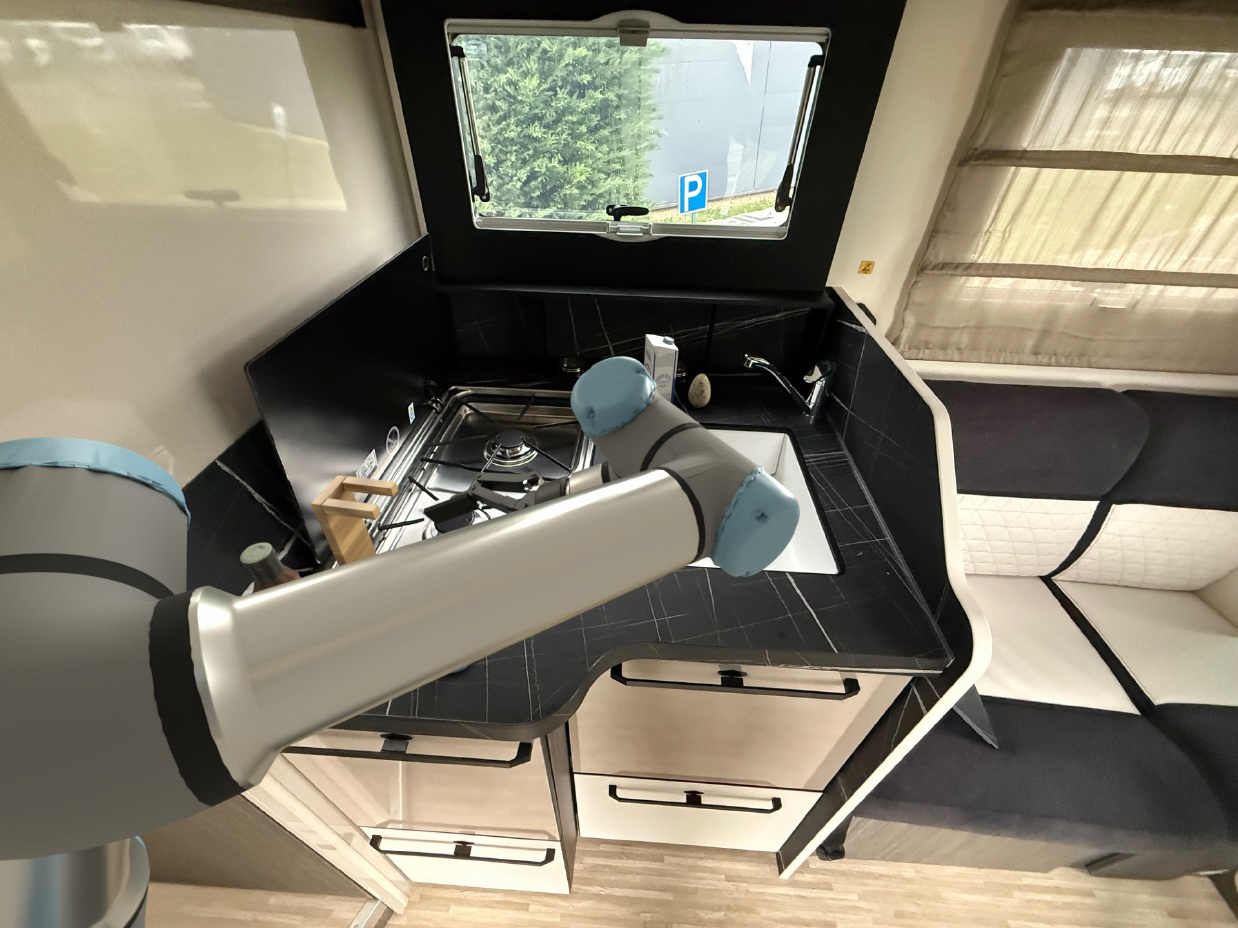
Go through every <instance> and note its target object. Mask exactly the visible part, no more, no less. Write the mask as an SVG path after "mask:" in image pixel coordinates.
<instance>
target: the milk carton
mask: <svg viewBox="0 0 1238 928" xmlns="http://www.w3.org/2000/svg"><path fill="white" fill-rule="evenodd" d="M674 342H675V339H674V338H672V337H670V336H665V335H664V336H659V335H655V334H645V345H644V363H643V366H644V367H645V368H646V370H647V372H648V373H649V375H650V376H651V377H652V378H653V379H654V380H655V383H656V388H657V390H658V392H659V393H660V394H661V396H662V397H663V398H665V399H666V400H667V401H669V402H670V403H672V404H673V405H674V397H675V388H676V387H675V386H676V375H677V366H678V357H679V349H678V347H677V346H676V345H675V343H674Z"/></svg>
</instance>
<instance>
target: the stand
mask: <svg viewBox="0 0 1238 928" xmlns="http://www.w3.org/2000/svg"><path fill="white" fill-rule="evenodd" d="M398 492H399V487H398V484H397V482H396V481H391V480H390V481H389V480H381V479H373V478H365V477H356V476H350V475H349V476H347V475H338V474H337V475H336V476H335V477H334V478H333V479H332V480H331V481H330V483H328V485H326V487H325V488H323V490H322V491H321V492H320V493H319V494H318V495H317V496H316V497H315V498H314V500H313V501H312V502H311V503H310V506H311V508H312V510H313V512H314V515H315V517H316V520H317V521H318V523H319V525H320V528H321V530H322V532H323V535H324V537H325V539H326V541H327V543H328V545H329V547H330V550H331V552H332V555H333V556H334V559H335V560H336V562H337V565H338V566H342V565H345V564H348V563H351V562H354V561H358V560H361V559H364V558H367V557H370V556H374V555H377V554H378V553H377V551H376V549H375V546H374V544H373V541H372V538H371V536H370V533H369V531H368V528H367V526H366V522H365V521H364V520H372V521H376V520H377V519H378V518H379V516H380V515H381V514H382V512H381V509H380V506H379V504H376V503H368V502H361V501H357V500H356V497H355V494H354V493H358V494H359V493H360V494H366V495H375V496H383V497H392V498H394V497H395V496H396V495H397V493H398Z"/></svg>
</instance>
